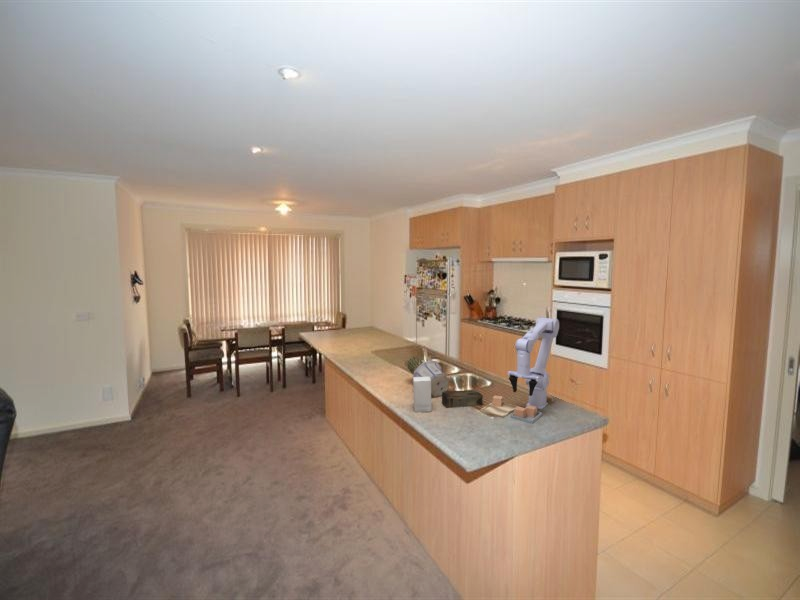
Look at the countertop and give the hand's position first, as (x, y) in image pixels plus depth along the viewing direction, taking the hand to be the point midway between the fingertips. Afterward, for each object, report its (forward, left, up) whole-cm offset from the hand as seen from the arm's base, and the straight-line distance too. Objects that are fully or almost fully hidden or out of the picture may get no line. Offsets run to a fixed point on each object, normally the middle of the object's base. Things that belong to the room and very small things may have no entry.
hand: (522, 393), depth 180 cm
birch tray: (+2, -10, -10) cm, 15 cm away
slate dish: (+2, +3, -10) cm, 11 cm away
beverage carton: (+8, -28, -10) cm, 31 cm away
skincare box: (+26, -39, -10) cm, 48 cm away
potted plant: (+2, -55, -10) cm, 56 cm away
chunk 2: (+5, +1, -10) cm, 11 cm away
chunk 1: (-2, -13, -10) cm, 17 cm away
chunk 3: (0, +4, -10) cm, 10 cm away
